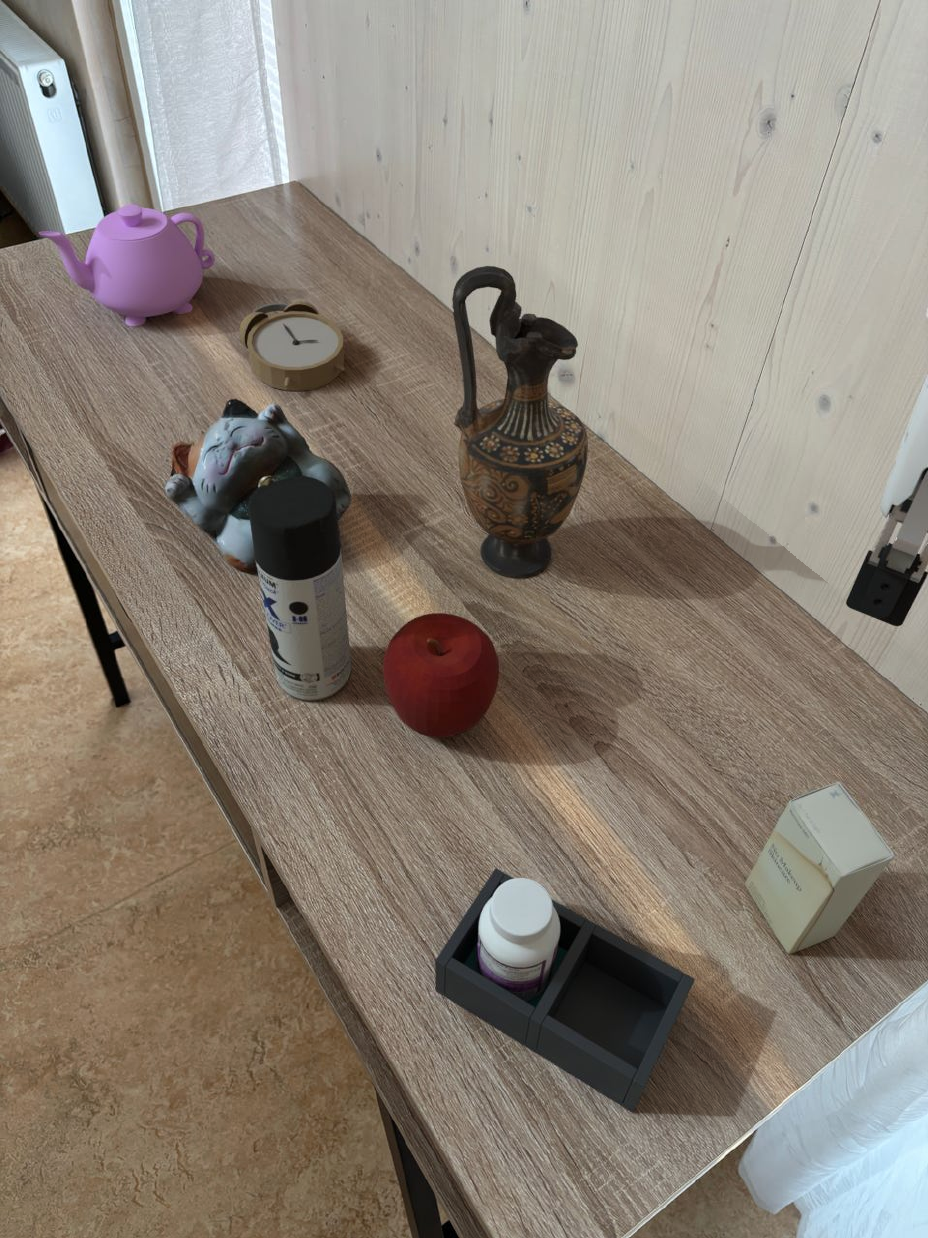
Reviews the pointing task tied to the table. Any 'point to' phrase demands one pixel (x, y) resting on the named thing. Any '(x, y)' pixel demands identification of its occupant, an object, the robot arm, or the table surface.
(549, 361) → the vase
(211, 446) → the lucky cat figurine
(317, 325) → the alarm clock
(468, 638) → the apple
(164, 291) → the teapot
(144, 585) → the table surface
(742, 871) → the table surface
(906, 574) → the robot arm
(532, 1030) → the holder
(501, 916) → the pill bottle
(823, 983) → the table surface
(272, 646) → the spray can
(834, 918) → the cosmetic box
